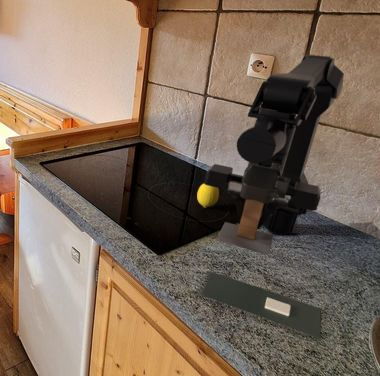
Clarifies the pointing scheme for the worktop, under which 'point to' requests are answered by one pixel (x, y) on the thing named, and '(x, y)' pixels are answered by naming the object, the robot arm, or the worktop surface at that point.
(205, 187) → the lemon
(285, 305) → the pale pink flat block
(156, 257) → the worktop surface
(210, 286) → the board
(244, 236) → the duster
